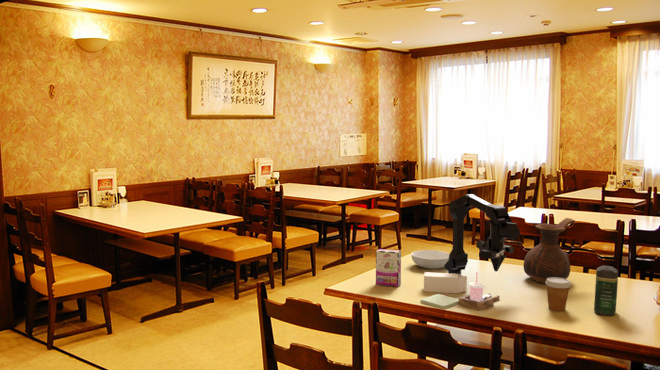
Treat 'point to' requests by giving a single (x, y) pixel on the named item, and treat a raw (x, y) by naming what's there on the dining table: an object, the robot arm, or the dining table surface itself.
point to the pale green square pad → (440, 301)
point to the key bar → (486, 296)
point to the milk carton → (445, 282)
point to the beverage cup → (476, 290)
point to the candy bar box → (388, 267)
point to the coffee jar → (606, 290)
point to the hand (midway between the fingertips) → (496, 271)
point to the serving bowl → (430, 258)
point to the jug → (548, 254)
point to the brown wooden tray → (477, 305)
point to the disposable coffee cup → (557, 293)
